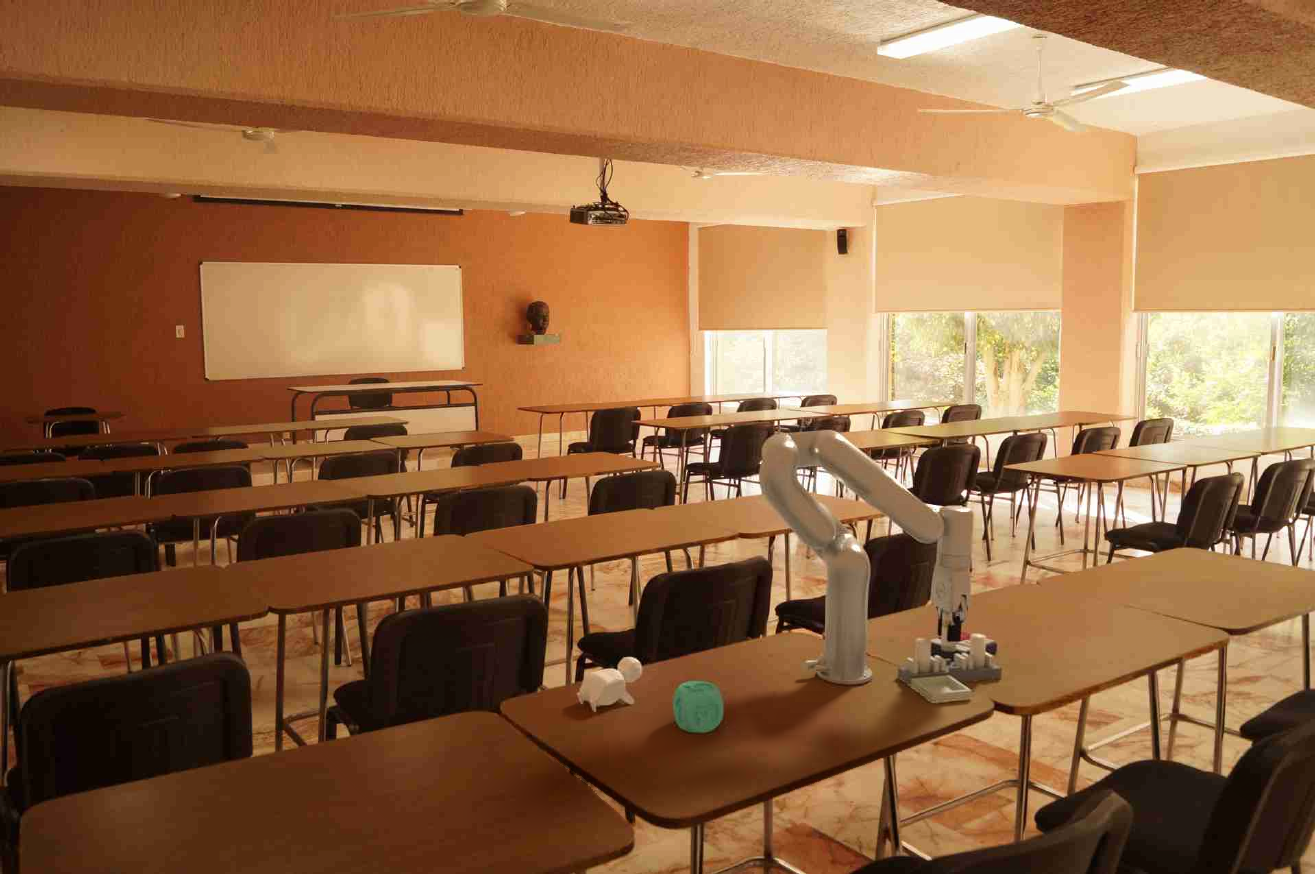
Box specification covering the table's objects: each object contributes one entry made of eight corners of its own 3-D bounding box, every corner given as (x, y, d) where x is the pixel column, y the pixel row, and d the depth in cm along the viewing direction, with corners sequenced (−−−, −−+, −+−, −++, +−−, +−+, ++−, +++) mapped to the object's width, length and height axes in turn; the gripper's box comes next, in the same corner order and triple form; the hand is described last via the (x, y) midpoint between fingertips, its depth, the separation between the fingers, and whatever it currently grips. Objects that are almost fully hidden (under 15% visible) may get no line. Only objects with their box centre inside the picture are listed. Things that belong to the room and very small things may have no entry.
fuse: (945, 652, 223) (947, 609, 222) (938, 647, 226) (939, 605, 225) (959, 651, 224) (961, 608, 222) (951, 646, 227) (953, 604, 226)
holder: (910, 687, 220) (911, 646, 219) (897, 677, 226) (899, 637, 225) (1001, 678, 225) (1002, 638, 224) (986, 669, 231) (988, 630, 230)
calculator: (998, 640, 243) (965, 650, 233) (996, 656, 243) (964, 667, 233) (958, 629, 251) (925, 638, 241) (957, 645, 251) (924, 655, 241)
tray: (932, 703, 210) (932, 694, 210) (910, 688, 219) (911, 678, 219) (971, 700, 213) (971, 690, 212) (948, 684, 222) (949, 675, 221)
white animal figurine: (603, 726, 206) (656, 686, 213) (590, 694, 203) (644, 655, 210) (581, 713, 213) (634, 675, 220) (569, 682, 210) (622, 644, 217)
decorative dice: (672, 720, 202) (672, 683, 201) (707, 715, 204) (708, 678, 203) (687, 736, 194) (687, 697, 193) (723, 730, 197) (724, 692, 196)
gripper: (920, 552, 229) (916, 628, 232) (957, 570, 213) (953, 651, 216) (949, 551, 231) (944, 626, 233) (988, 569, 215) (983, 649, 217)
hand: (948, 637), depth 225 cm, fingers closed on fuse, 3 cm apart
